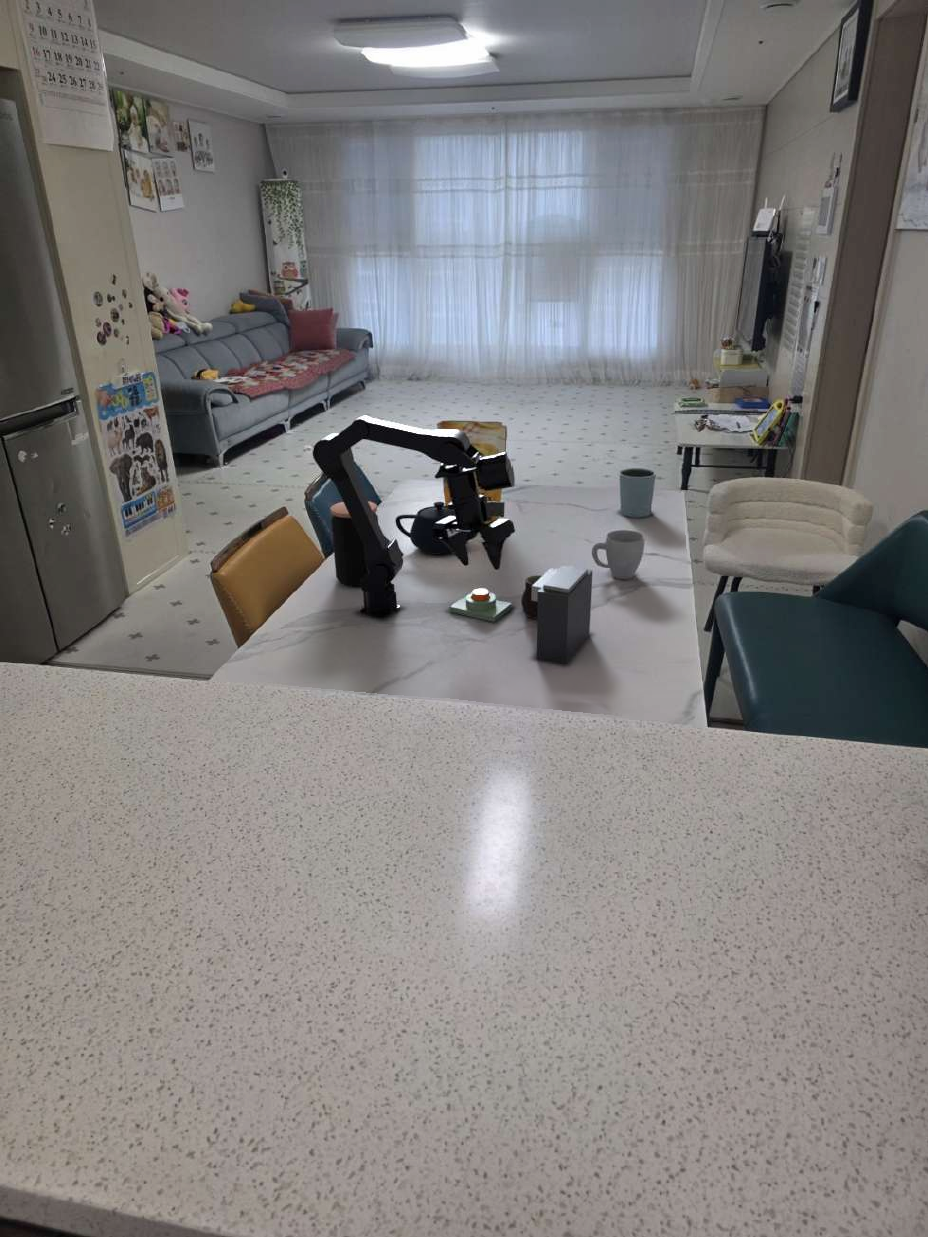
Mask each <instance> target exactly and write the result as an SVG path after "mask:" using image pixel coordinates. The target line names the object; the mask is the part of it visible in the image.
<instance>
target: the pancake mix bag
mask: <svg viewBox="0 0 928 1237" xmlns="http://www.w3.org/2000/svg"><path fill="white" fill-rule="evenodd" d="M436 426H437V427H436V428H437V430H440V429H448V430H460V431H462V432H464V433H465V434H466V435H467V437H468V438H469V441H470V443H471V444H472V445H473V446H474V447H475V448H476V449H477V450H478V451H480V452H481V453H482V454H483V455H484V457H487V456H492V455H497V454H499V453H503V452H506V453H507V439H508V428H507V425H506V424H503V422H501V421H479V420H441V421H440V422H437V423H436ZM441 464H442V463H440V465H441ZM474 474H475V478H476V473H475V472H474ZM476 483H477V479H476ZM442 484H443V485H442V486H443V487H442V488H443V496H444V503H445V505H444V506H448V504H449V503H451V502H452V501H451V497H450V493H449V489H448V485H447V480H446V477H443V478H442ZM477 487H478V491H479V495H484V497H485V498H486V501H487V502H502V501H501V500H502V491H503V489H497V490H492V491H485V490H484V489H481V487H479V486H478V483H477ZM495 519H501V517H500V516H495V517H492V519H491V520H489V521H486V522H485V524H488V523H490V522H491V521H493V520H495Z"/></svg>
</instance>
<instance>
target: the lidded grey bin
mask: <svg viewBox="0 0 928 1237" xmlns="http://www.w3.org/2000/svg"><path fill="white" fill-rule="evenodd" d="M541 576H542V577H541V578H540V579H539V580H538V581H537V582H536V583H534V584H533V585H532V601H538V604H537V618H536V654H535V655H536V659H537V660H542V661H546V662H547V661H548V662H551V663H557V664H561V665H567V664H568V662H569V661H571V659H572V658H573V656H574V655H575V654H576V652H577V651H578V650H579V649H580V648H581V646H582V645H583V644H584V643H585V641H586V639H588V637H589V636H590V630H591V612H592V610H591V608H592V590H593V570H592V569H590V570H589V569H588V568H585V567H584V568H583V567H576V566H571V565H562V566H561V567H560V568H554V567H553V568H552V567H550V568H549V569H548V570H547V571H545V573H544V574H542V575H541Z"/></svg>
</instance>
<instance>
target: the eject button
mask: <svg viewBox="0 0 928 1237" xmlns="http://www.w3.org/2000/svg"><path fill="white" fill-rule="evenodd" d="M471 593H472V599H473V600H474V601H487V600H489V593H490V590H489V589H487V588H475V589H473V590H472V592H471Z"/></svg>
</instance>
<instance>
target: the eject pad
mask: <svg viewBox="0 0 928 1237" xmlns="http://www.w3.org/2000/svg"><path fill="white" fill-rule="evenodd" d="M512 609H513V603H512V602H507V601H503V600H498V599H497V595H496V594H494V593H493V592H489V600H487V601H474V600H473V599H472V592H470V593H468V594H466V595H465V596H463V597H462V598H460V599H459V600H457V601H456V602H454V603H453V604H451V605H450V606H449V612H450V613H455V614H458V615H463V616H467V617H471V618H475V619H479V620H484V621H488V622H492V623H495V622H496V621H497V620H498V619H500V618H502V617H503V616H504V615H505V614H507V612H509V611H511V610H512Z"/></svg>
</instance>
